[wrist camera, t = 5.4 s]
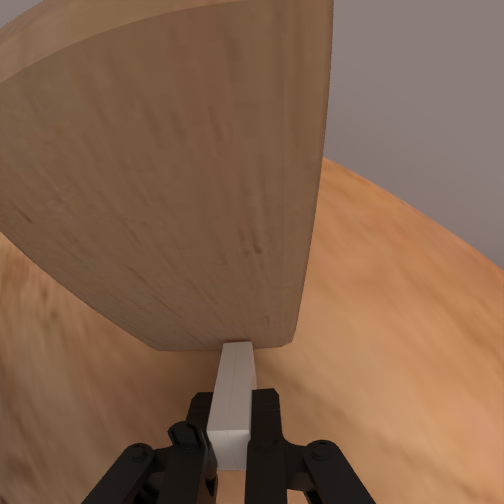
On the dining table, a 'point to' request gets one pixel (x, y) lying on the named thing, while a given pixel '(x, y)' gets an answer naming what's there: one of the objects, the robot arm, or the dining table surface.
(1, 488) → the dining table surface
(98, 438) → the dining table surface
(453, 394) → the dining table surface
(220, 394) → the robot arm
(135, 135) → the block
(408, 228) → the dining table surface
